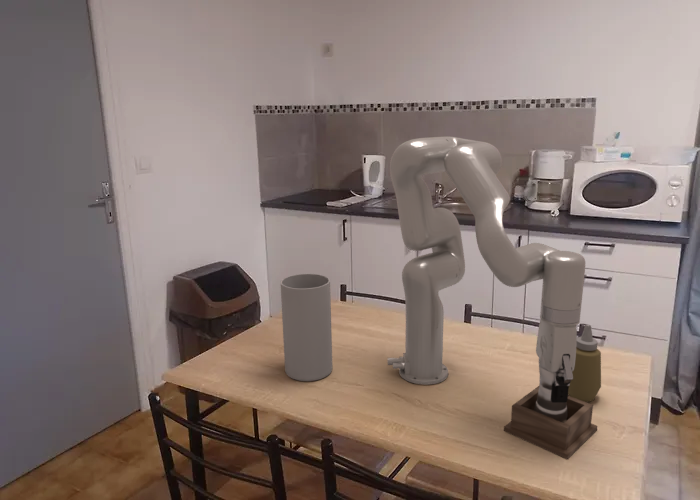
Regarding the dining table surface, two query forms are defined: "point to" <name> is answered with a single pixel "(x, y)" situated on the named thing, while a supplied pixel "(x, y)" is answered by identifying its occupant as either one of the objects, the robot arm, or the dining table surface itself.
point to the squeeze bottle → (586, 368)
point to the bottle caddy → (552, 425)
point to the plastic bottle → (549, 395)
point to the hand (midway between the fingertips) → (552, 392)
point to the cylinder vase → (307, 326)
